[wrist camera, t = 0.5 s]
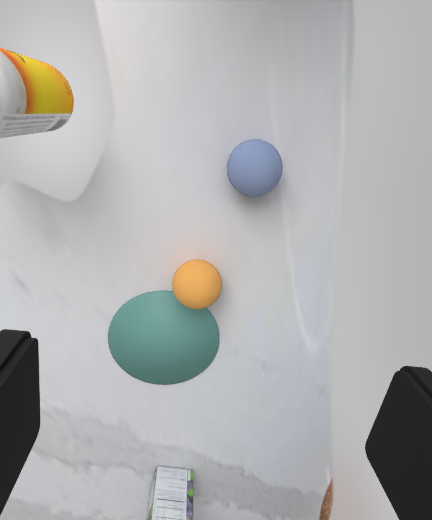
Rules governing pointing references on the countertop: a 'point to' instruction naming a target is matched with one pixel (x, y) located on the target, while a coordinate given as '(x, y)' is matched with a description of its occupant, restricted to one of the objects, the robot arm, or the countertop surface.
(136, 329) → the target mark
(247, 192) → the blue ball
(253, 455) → the countertop surface
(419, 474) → the robot arm
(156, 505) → the syrup box
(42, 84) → the drink can
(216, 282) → the orange ball
